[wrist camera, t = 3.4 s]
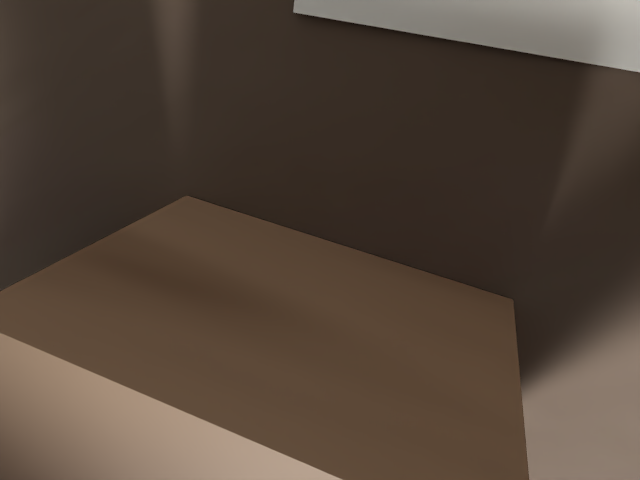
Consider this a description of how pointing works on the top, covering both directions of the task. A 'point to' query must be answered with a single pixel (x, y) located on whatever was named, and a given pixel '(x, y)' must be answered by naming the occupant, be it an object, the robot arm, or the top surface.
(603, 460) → the top surface
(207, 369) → the light brown wooden block
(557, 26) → the blueprint lines
